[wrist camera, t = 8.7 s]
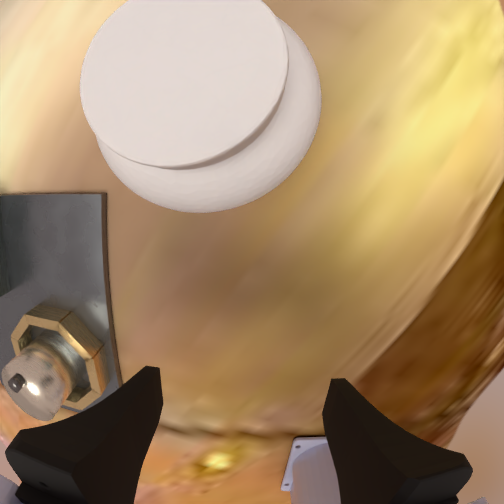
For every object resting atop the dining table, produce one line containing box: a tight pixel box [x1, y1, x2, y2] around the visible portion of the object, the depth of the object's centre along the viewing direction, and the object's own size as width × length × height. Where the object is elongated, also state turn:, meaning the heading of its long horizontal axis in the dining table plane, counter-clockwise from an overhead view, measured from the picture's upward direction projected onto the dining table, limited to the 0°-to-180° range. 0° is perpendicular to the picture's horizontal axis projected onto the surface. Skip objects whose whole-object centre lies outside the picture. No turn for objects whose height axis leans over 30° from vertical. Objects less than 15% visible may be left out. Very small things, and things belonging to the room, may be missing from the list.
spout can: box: [2, 329, 87, 421], centre depth 18 cm, size 5×5×7 cm
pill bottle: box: [80, 0, 321, 213], centre depth 12 cm, size 8×7×14 cm
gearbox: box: [0, 193, 123, 413], centre depth 19 cm, size 20×16×6 cm
